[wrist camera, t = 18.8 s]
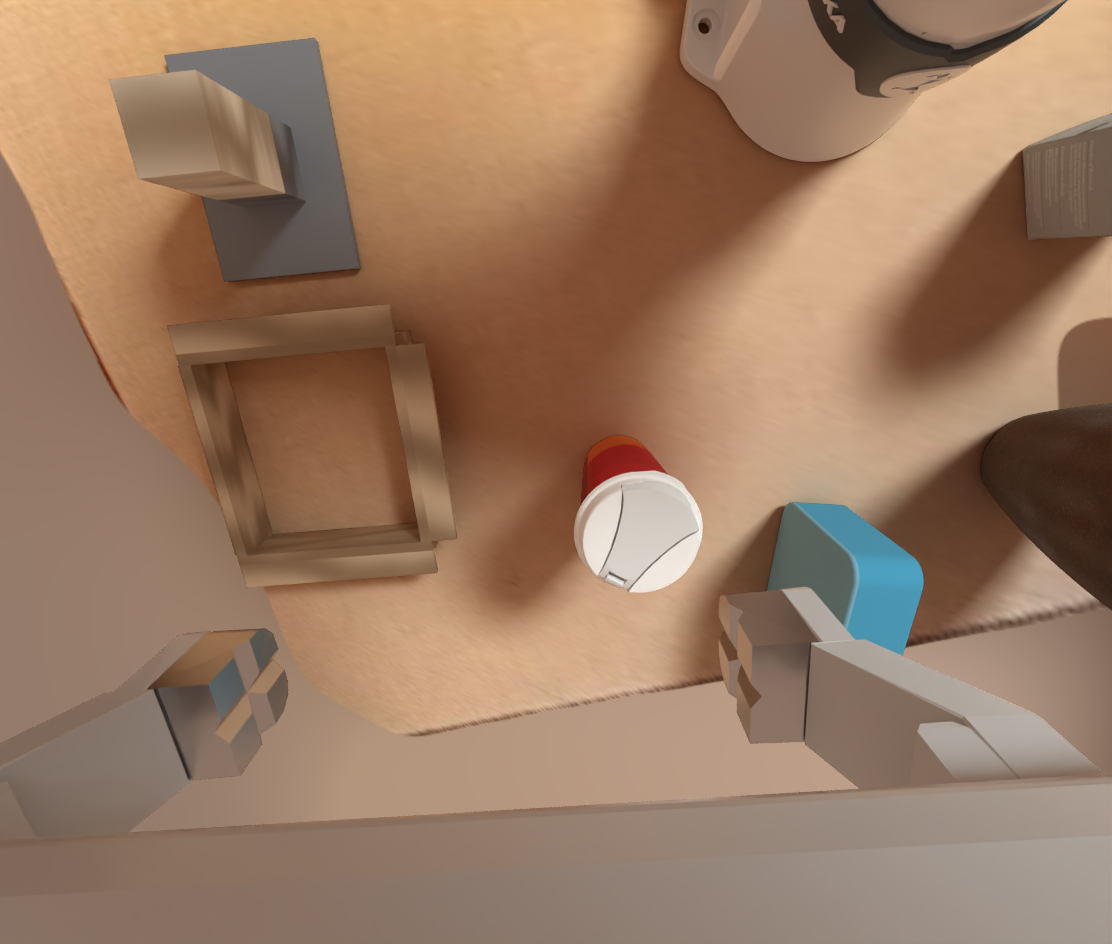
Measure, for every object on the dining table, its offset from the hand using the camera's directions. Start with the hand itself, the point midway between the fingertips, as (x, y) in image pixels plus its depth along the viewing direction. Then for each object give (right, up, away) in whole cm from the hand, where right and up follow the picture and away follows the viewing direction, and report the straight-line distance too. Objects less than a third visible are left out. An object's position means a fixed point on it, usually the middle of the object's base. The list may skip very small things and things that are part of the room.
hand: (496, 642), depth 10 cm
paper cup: (+6, +4, +35) cm, 36 cm away
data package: (+22, -5, +37) cm, 44 cm away
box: (-19, +24, +28) cm, 41 cm away
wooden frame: (-17, +5, +34) cm, 39 cm away
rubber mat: (-19, +24, +28) cm, 42 cm away
